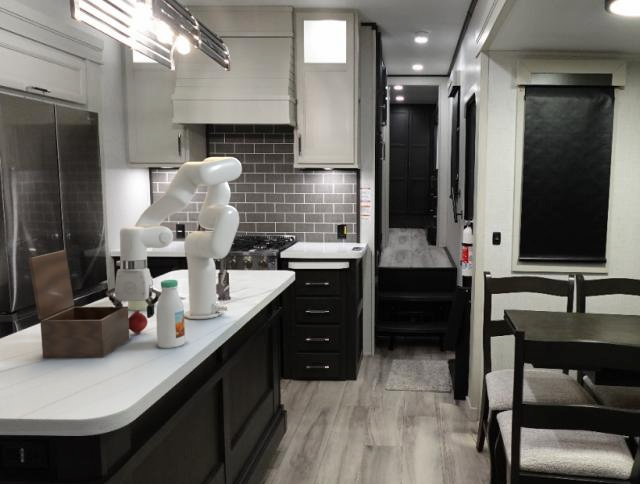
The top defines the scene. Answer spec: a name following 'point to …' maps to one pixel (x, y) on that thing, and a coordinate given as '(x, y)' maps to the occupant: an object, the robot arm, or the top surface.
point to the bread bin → (84, 332)
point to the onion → (137, 322)
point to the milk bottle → (170, 316)
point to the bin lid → (51, 283)
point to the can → (138, 303)
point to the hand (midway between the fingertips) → (134, 316)
